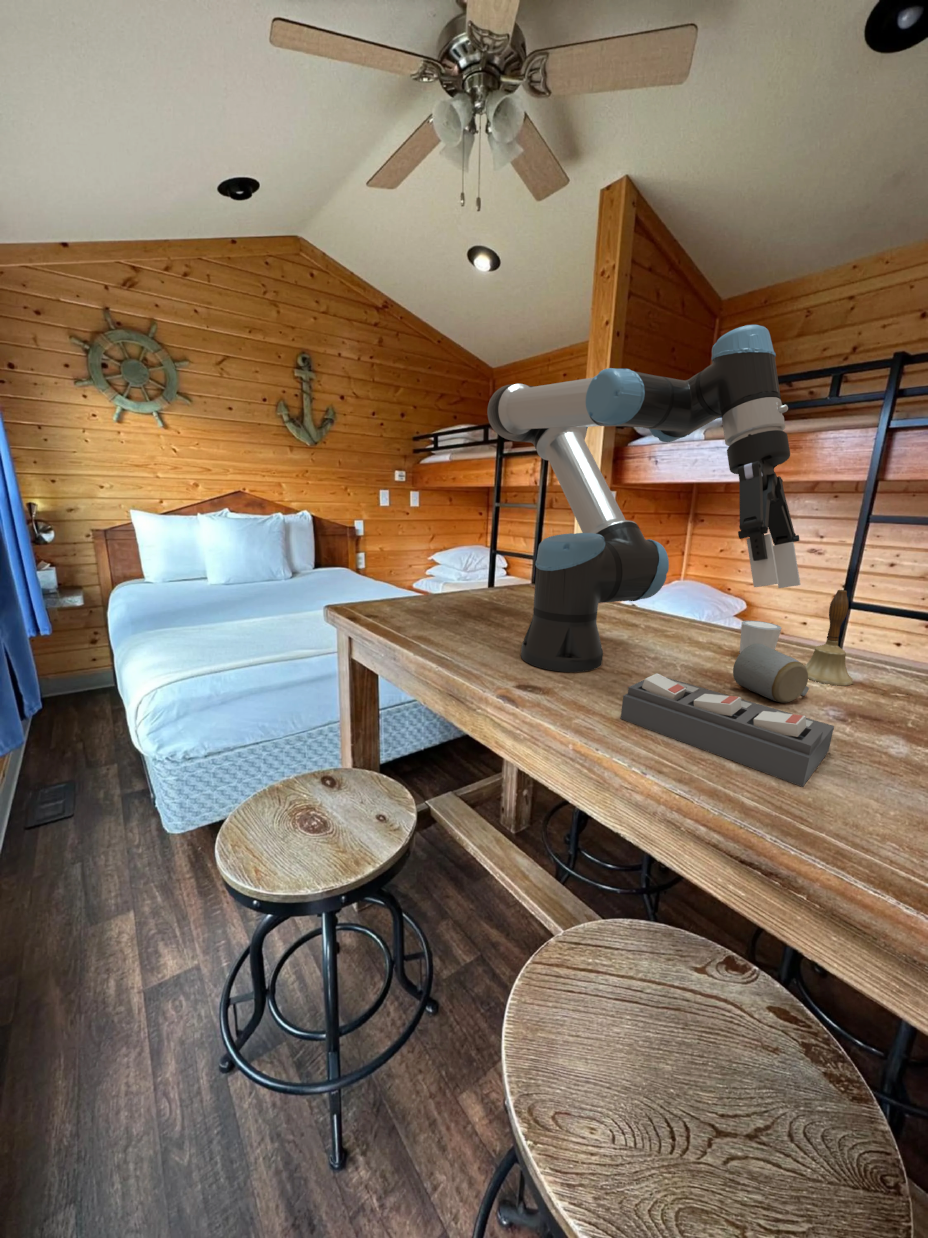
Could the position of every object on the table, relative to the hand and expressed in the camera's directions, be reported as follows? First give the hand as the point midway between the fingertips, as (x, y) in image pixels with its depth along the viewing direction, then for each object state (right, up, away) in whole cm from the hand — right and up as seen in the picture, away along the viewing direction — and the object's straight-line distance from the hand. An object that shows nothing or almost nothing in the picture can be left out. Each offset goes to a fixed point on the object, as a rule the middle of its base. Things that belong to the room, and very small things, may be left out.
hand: (778, 586), depth 70 cm
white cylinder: (+14, -13, +30) cm, 35 cm away
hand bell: (+21, -15, +20) cm, 33 cm away
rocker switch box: (-10, -20, -4) cm, 23 cm away
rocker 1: (-17, -14, -2) cm, 22 cm away
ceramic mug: (+6, -17, +11) cm, 21 cm away
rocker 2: (-7, -17, -11) cm, 22 cm away
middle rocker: (-12, -15, -6) cm, 21 cm away
